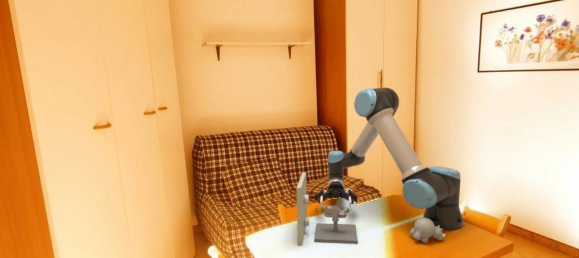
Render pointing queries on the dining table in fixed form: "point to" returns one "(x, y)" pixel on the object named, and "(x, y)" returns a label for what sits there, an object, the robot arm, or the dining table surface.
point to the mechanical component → (335, 214)
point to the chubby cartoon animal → (426, 230)
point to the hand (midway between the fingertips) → (335, 204)
